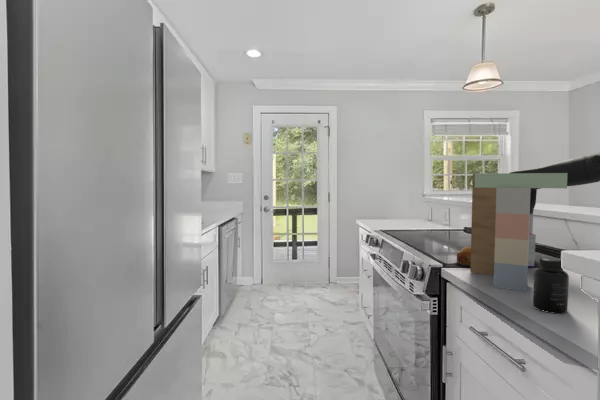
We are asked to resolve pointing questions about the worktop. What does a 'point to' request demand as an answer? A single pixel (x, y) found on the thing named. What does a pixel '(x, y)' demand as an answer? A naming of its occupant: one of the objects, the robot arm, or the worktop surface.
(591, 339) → the worktop surface
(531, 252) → the supplement box
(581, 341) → the worktop surface
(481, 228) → the walnut stand
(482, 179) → the long brick
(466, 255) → the bread roll
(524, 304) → the worktop surface
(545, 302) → the supplement bottle
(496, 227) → the brick tower
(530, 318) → the worktop surface
